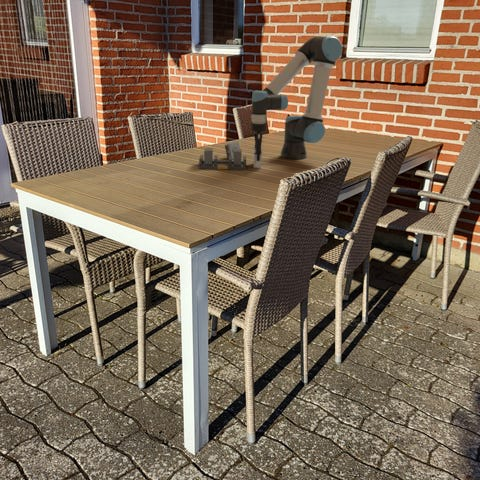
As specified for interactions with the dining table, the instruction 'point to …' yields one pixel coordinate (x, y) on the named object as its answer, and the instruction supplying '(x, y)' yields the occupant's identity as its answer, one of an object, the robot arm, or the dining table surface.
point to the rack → (208, 162)
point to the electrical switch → (231, 149)
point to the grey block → (255, 157)
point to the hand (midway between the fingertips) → (257, 164)
